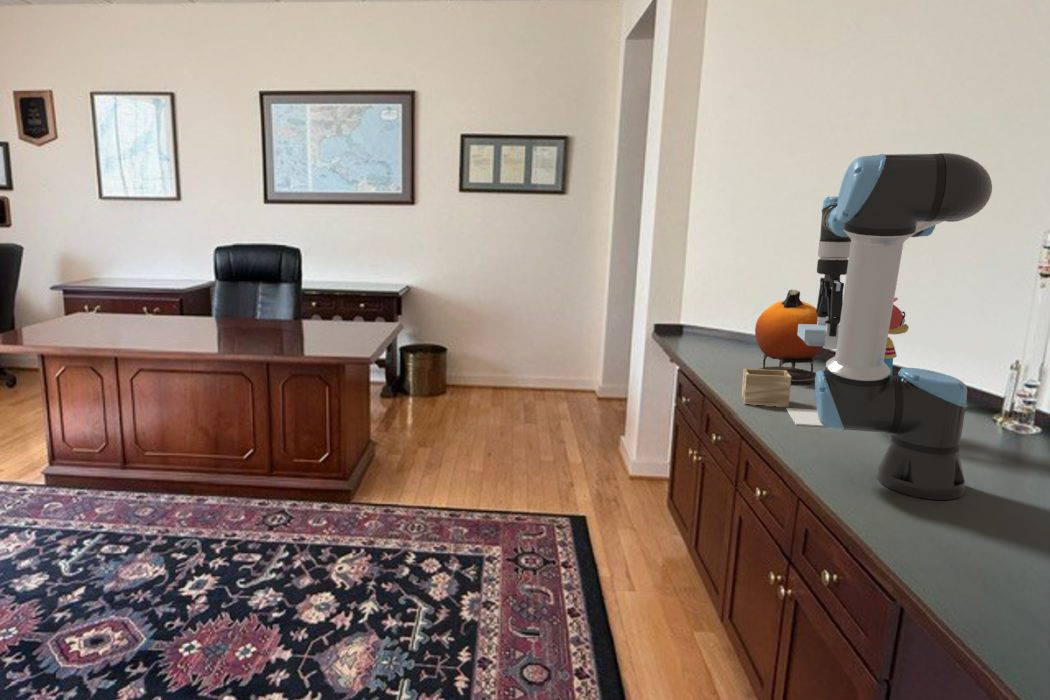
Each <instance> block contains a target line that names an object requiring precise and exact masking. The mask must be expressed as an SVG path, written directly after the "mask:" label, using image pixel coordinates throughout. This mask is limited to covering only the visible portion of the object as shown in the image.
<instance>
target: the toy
mask: <svg viewBox="0 0 1050 700" xmlns="http://www.w3.org/2000/svg"><path fill="white" fill-rule="evenodd" d="M898 300H899V299H898V297H894V303H895V302H896V301H898ZM905 318H906V312H905V311H903V310H901V309H900V308H899V307H898V306H897V305H895V304H893V309H892V314H891V320H890V326H889V332H888V335H901V334H906V333H907V332H908V330H909V325H908V324H907V323H905V322H906V319H905ZM895 358H897V352H896V348H895V345H894V342H893V340H892V339H891V338H890V337H889V336H888V338H887V344H886V350H885V356H884V363H885V364H886V365H887V366H888V367H889V368H890V370H891V374H890V375H892V376H893V364H894V359H895Z"/></svg>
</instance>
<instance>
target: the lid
mask: <svg viewBox="0 0 1050 700" xmlns="http://www.w3.org/2000/svg"><path fill="white" fill-rule="evenodd" d="M839 326H840V324H839ZM838 333H839V327H838ZM797 335H798V336H799V337H800V338H801V339H802V340H803V341H804V342H805V343H806V344H807V345H808V346H824V345H825V335H826V325H815V324H798V333H797ZM837 340H838V337H837Z"/></svg>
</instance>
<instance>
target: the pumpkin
mask: <svg viewBox="0 0 1050 700" xmlns="http://www.w3.org/2000/svg"><path fill="white" fill-rule="evenodd" d="M800 296H801V291H800V290H797V289H789V290H788V292H787V294H786V298H785V300H780V301H778V302H775V303H773V304H771V305H770V306H769V307H768V308H766V309H765V310H764V311H763V312H762V313H761V314H760V316H759V317H758V318H757V320H756V323H755V327H754V328H755V330H754V335H755V336H754V337H755V339H756V342H757V345H758V347H759V349H760V351H761V352H762V353H763V354H764V355H763V360H762V361H763V362H762V367H761V368H759V369H764V370H786V371H787V372H788V373H789V375H790V376H791V385H803V386H804V385H805V386H808V385H813V384H814V385H815V376H816V372H815V371H814V363H815V362H814V359H813V358H815V357H816V356H817V355H819V354H820V353H821V351H822V350H823V348H824V346H808V345H807V344H806V343H805V342H804V341H803V340H802V339H801V338H800V337H799V336H798V335H797V333H798V324H815V325H817V321H818V315H817V314H818V313H816V310H817V307H815V306H814V305H812V304H810V303H809V302H806V301H802V300H801V298H800ZM767 358H770V359H773V360H778V361H779V362H778V363H779V364H778V366H777V365H776V366H766V361H767ZM790 363H791V366H783V365H784V364H790ZM802 363H805V364H808V363H809V364H810V371H809V370H806V369H803V368H802V369H801V368H798V367H797V368H796V364H802Z"/></svg>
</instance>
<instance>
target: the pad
mask: <svg viewBox="0 0 1050 700" xmlns="http://www.w3.org/2000/svg"><path fill="white" fill-rule="evenodd" d="M785 410H786V412H787V413H788V414H789V416H790V418H791V420H792V421H793V422H795V423H794V424H795V426H806V427H825V426H823V425H822V424H821V422H820V421H819V418H818V413H817V409H811V408H810V409H809V408H795V407H794V408H791V407H785ZM825 428H826V427H825Z"/></svg>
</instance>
